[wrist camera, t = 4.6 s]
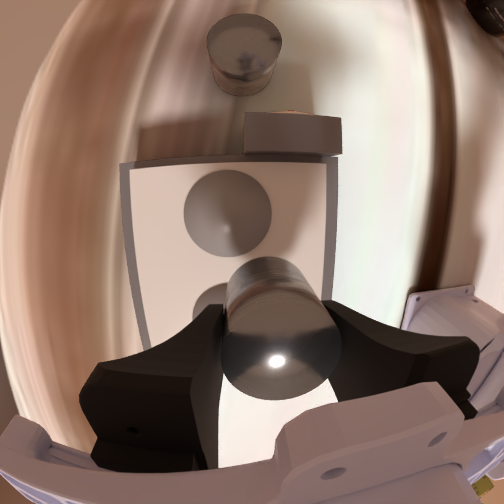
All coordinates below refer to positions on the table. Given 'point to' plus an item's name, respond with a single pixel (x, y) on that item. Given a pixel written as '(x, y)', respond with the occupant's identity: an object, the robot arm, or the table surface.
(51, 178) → the table surface
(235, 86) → the cylinder
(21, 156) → the table surface
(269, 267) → the cylinder
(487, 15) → the supplement bottle
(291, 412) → the table surface
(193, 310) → the scale
